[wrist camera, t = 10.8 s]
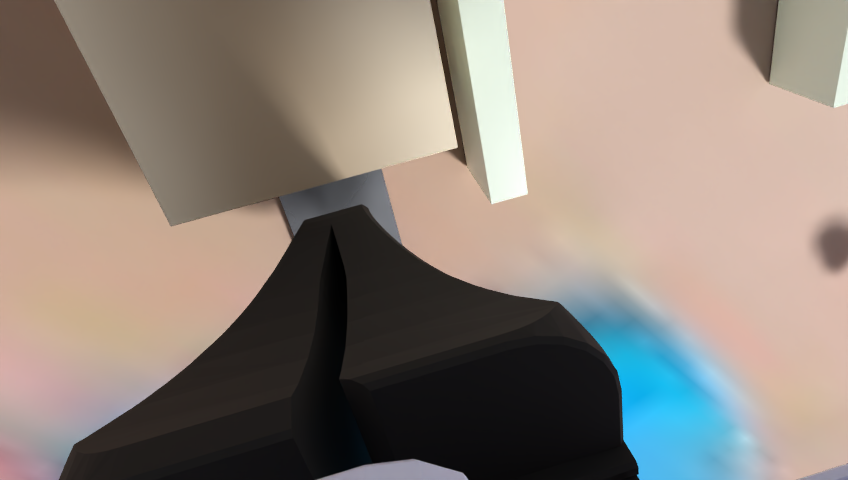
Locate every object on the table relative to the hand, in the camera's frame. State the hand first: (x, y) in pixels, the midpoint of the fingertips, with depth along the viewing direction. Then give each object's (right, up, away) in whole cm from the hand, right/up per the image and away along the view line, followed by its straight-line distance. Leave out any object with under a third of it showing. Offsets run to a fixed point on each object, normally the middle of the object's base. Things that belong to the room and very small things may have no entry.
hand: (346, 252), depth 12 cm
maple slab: (-1, +5, -1) cm, 6 cm away
